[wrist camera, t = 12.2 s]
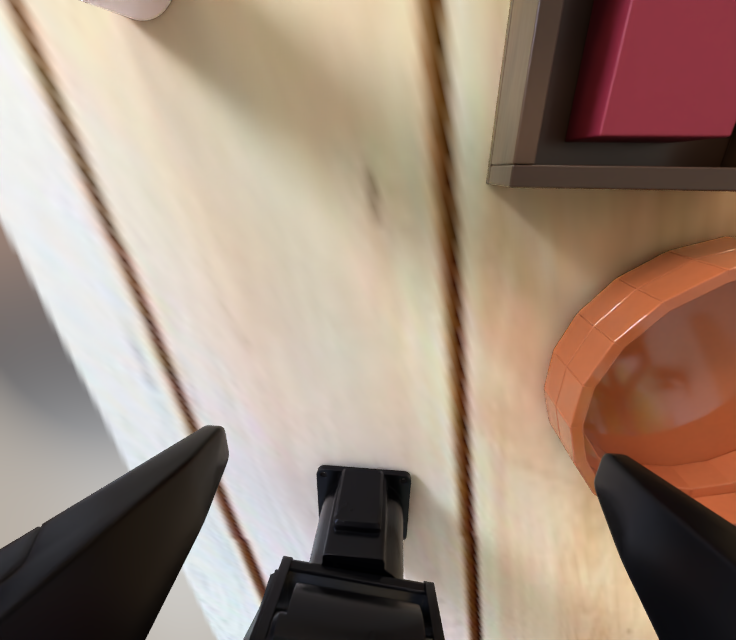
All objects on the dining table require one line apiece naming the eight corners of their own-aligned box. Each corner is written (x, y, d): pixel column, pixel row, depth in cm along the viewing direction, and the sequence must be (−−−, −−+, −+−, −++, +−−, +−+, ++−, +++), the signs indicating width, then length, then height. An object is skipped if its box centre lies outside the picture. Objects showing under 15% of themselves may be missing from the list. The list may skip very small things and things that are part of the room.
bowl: (768, 482, 22) (840, 544, 19) (520, 464, 23) (543, 519, 20) (918, 239, 16) (1067, 259, 13) (576, 230, 17) (623, 247, 14)
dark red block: (671, 142, 15) (731, 137, 13) (563, 142, 16) (599, 136, 13) (740, -78, 13) (836, -148, 10) (608, -74, 13) (663, -139, 10)
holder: (721, 187, 16) (815, 193, 13) (485, 183, 17) (509, 187, 13) (847, -145, 12) (1043, -281, 8) (527, -130, 13) (578, -250, 9)
